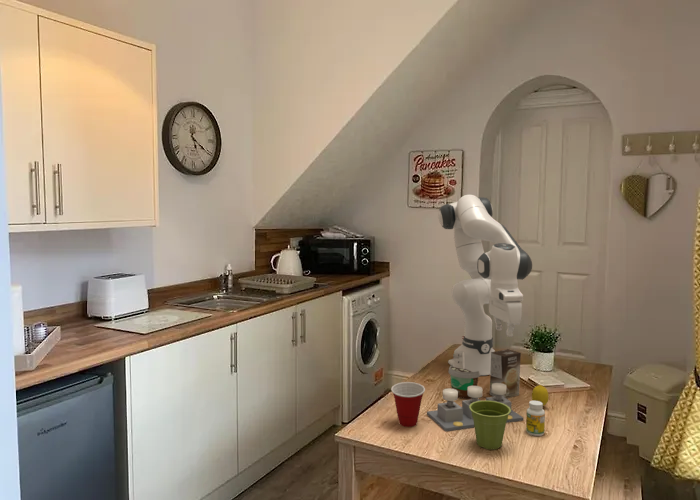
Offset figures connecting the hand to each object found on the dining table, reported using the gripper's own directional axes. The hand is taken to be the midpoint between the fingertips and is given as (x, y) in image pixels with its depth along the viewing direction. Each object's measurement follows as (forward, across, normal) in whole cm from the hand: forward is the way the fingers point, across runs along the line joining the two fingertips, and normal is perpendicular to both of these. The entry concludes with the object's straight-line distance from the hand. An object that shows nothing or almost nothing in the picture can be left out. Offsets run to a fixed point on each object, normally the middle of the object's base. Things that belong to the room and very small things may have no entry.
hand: (504, 333), depth 186 cm
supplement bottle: (+28, +17, +4) cm, 33 cm away
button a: (+24, +2, -3) cm, 24 cm away
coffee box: (+27, -15, +6) cm, 32 cm away
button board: (+27, +4, -11) cm, 30 cm away
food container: (+27, -16, -10) cm, 33 cm away
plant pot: (+28, +23, -14) cm, 39 cm away
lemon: (+27, -3, +14) cm, 31 cm away
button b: (+23, +4, -11) cm, 26 cm away
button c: (+23, +5, -20) cm, 31 cm away
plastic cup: (+27, +6, -34) cm, 44 cm away
